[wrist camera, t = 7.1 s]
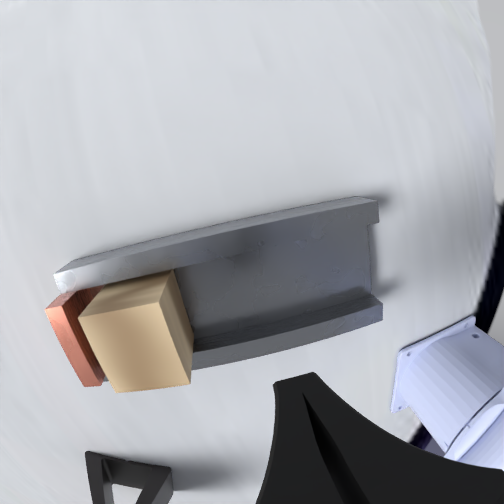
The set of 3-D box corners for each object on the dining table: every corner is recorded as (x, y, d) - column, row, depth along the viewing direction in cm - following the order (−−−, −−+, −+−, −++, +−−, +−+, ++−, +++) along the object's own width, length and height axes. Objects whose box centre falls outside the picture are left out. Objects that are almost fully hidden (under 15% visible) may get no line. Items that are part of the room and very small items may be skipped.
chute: (356, 196, 17) (398, 205, 13) (364, 303, 19) (398, 335, 15) (71, 261, 16) (35, 287, 11) (112, 359, 18) (93, 402, 13)
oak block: (172, 266, 15) (158, 301, 11) (194, 335, 17) (190, 384, 12) (108, 281, 15) (77, 317, 11) (133, 345, 16) (116, 393, 12)
